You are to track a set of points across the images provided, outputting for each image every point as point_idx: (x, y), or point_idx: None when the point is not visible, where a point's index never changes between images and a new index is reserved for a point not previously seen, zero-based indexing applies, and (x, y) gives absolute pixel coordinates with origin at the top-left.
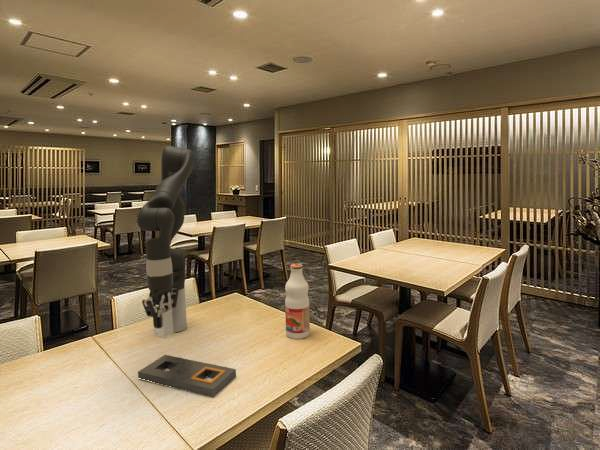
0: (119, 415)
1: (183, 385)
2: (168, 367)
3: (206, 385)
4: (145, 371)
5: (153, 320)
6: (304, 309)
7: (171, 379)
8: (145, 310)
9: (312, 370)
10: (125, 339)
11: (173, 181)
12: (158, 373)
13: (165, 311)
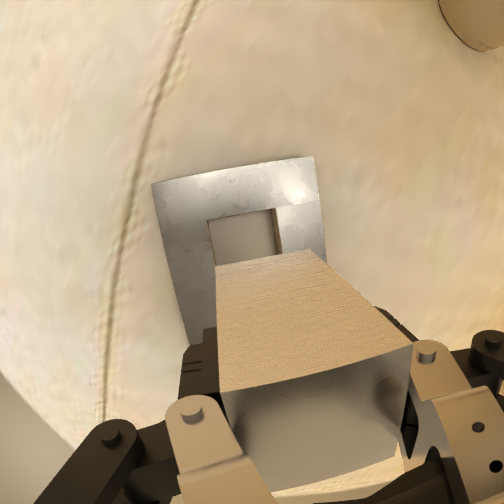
0: (33, 315)
1: None
2: (272, 216)
3: None
4: (168, 211)
5: (180, 387)
6: None
7: (190, 344)
8: (48, 492)
9: (397, 474)
10: None
11: None
12: (189, 270)
13: (315, 473)
